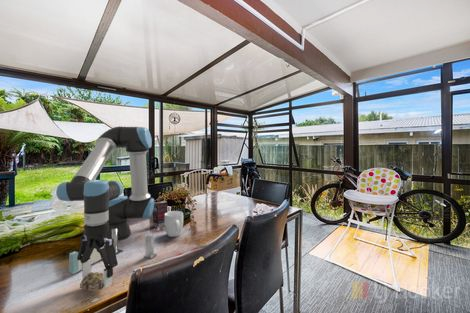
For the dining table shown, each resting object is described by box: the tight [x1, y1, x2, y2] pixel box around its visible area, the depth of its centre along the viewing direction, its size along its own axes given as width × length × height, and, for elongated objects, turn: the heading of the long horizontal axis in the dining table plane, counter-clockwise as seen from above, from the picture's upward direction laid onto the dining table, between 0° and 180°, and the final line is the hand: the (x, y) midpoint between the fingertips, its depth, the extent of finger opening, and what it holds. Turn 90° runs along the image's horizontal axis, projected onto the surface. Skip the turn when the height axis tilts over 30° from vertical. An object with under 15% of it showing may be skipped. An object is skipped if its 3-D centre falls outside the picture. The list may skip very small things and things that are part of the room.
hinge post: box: [112, 228, 124, 256], centre depth 102 cm, size 5×5×12 cm
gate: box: [68, 246, 104, 275], centre depth 92 cm, size 18×2×8 cm, turn 161°
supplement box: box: [152, 200, 168, 228], centre depth 141 cm, size 9×5×16 cm, turn 146°
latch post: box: [143, 235, 157, 260], centre depth 99 cm, size 4×4×10 cm
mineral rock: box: [79, 271, 104, 292], centre depth 75 cm, size 11×4×8 cm
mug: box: [164, 210, 184, 238], centre depth 124 cm, size 15×11×13 cm
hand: (97, 282), depth 76 cm, fingers closed on mineral rock, 10 cm apart
